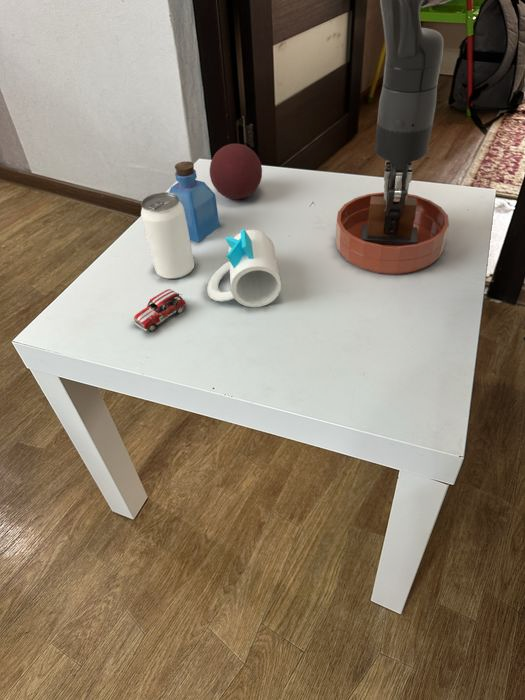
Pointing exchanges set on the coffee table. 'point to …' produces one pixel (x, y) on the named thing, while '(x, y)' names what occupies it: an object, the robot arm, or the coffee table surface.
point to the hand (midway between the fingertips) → (390, 228)
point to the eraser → (377, 219)
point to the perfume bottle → (195, 202)
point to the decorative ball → (235, 171)
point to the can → (167, 235)
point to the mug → (248, 270)
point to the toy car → (159, 309)
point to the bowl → (391, 258)
